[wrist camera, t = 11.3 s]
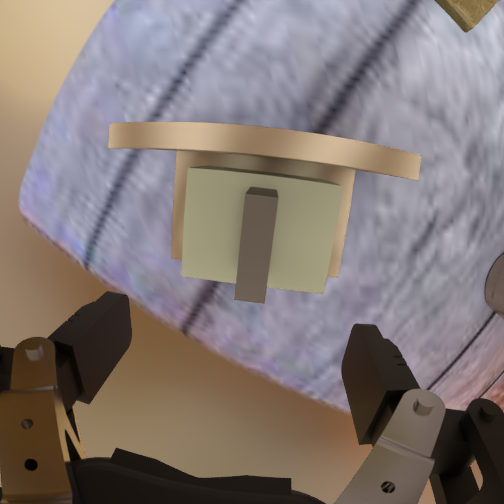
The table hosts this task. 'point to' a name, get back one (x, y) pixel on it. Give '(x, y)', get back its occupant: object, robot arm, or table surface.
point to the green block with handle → (259, 229)
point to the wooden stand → (264, 160)
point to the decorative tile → (467, 11)
